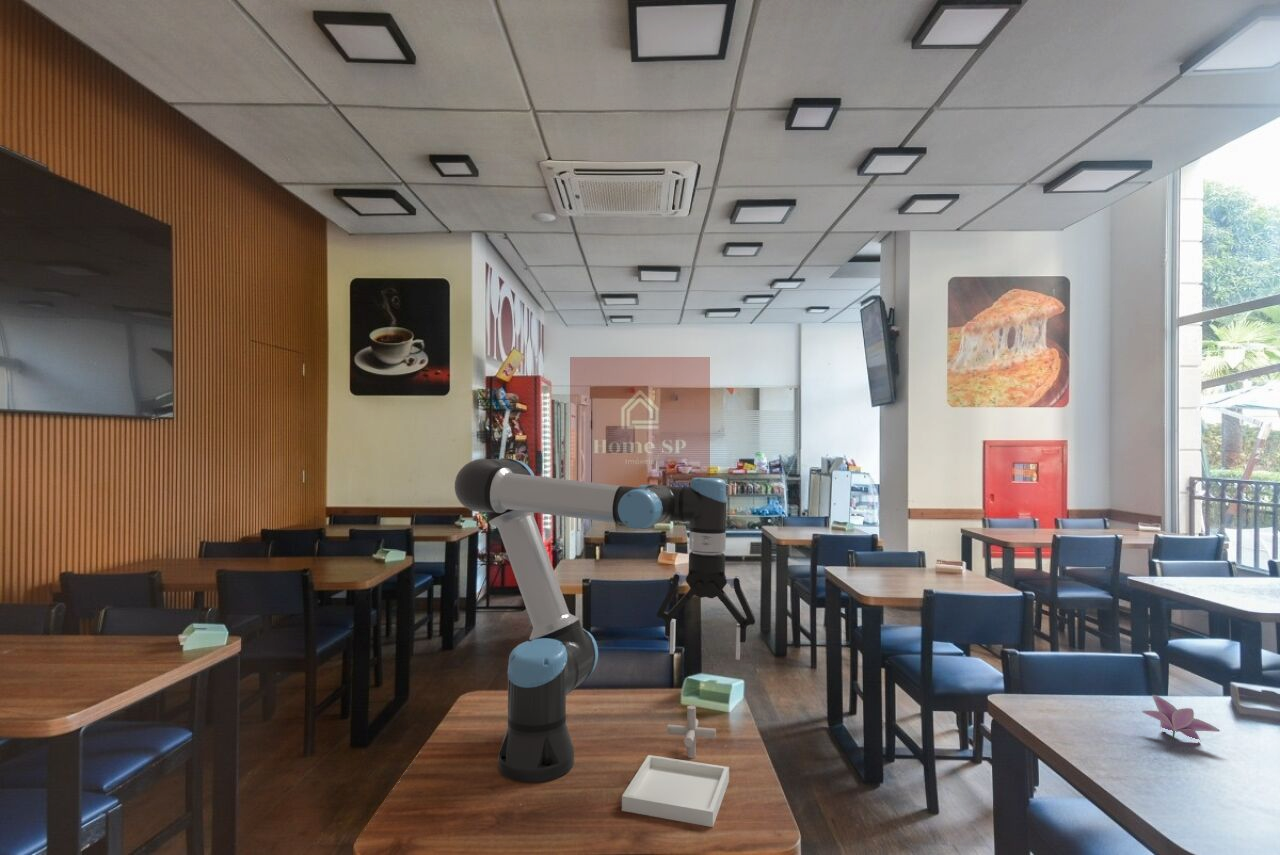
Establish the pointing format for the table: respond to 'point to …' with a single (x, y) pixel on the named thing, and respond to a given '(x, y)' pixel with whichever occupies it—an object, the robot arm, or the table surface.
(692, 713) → the pipe connector
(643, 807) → the tray
